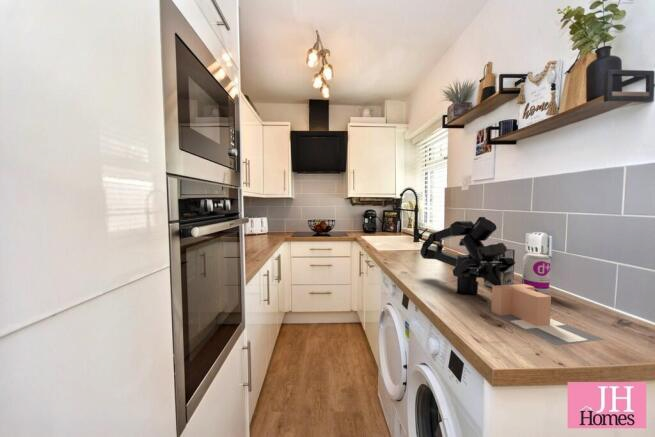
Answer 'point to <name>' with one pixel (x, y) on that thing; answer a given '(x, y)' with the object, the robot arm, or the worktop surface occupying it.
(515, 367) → the worktop surface
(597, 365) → the worktop surface
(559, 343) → the mat
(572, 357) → the worktop surface
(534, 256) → the supplement can
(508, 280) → the coffee box
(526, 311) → the t block
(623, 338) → the worktop surface
